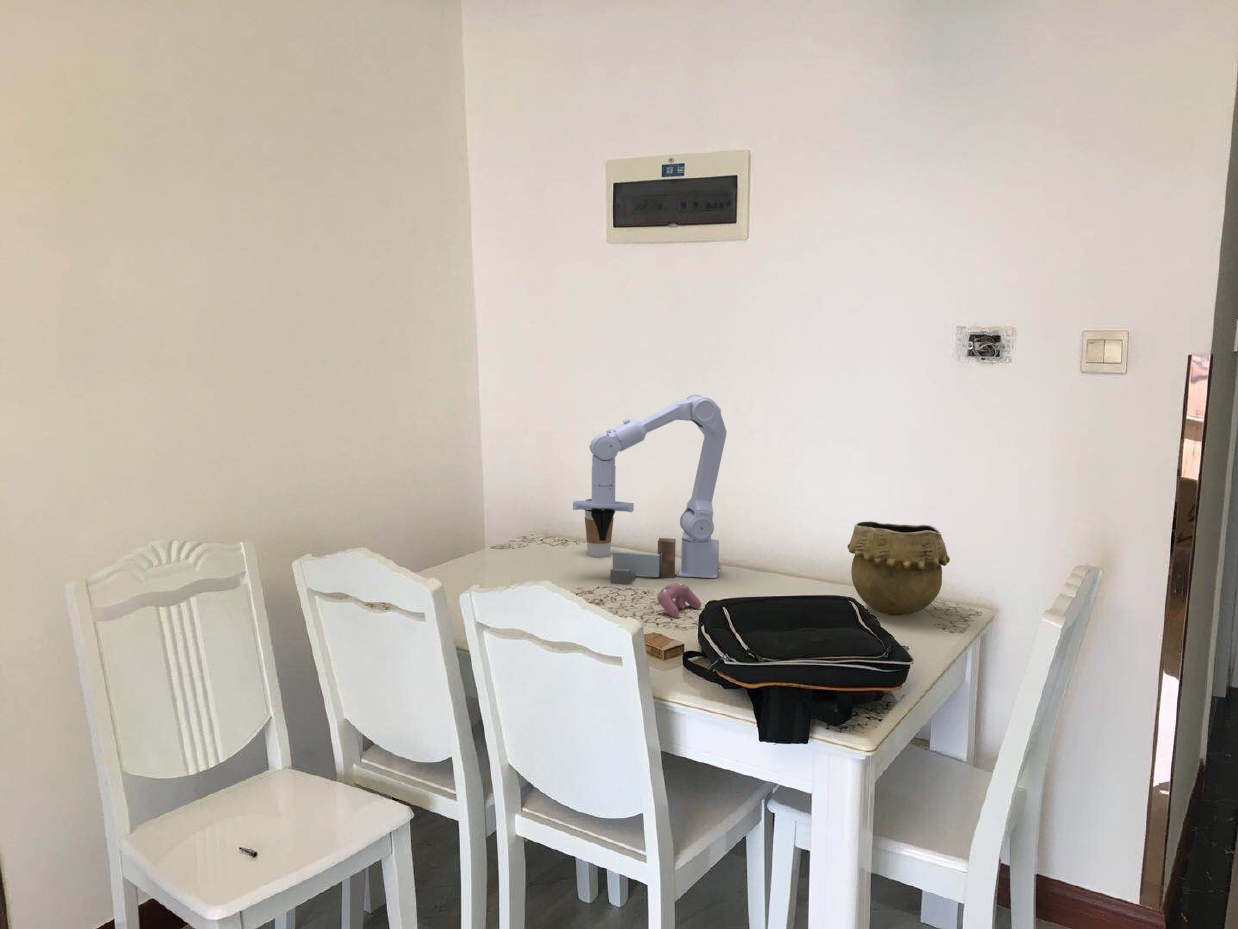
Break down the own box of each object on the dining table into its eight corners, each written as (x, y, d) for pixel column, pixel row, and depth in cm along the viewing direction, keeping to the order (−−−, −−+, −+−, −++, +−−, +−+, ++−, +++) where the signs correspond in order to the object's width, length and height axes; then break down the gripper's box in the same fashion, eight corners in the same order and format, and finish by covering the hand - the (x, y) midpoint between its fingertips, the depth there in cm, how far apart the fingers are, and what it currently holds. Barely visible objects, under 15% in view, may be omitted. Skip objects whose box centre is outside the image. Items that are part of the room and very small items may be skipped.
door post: (674, 574, 238) (675, 538, 237) (672, 579, 234) (673, 543, 232) (658, 573, 239) (659, 538, 238) (656, 578, 234) (657, 542, 233)
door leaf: (660, 574, 236) (661, 553, 235) (658, 576, 234) (659, 555, 233) (614, 570, 239) (615, 550, 238) (612, 573, 236) (612, 552, 236)
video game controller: (688, 612, 213) (677, 582, 214) (704, 606, 210) (692, 576, 211) (662, 622, 205) (650, 591, 206) (678, 617, 202) (666, 585, 203)
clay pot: (851, 595, 222) (855, 509, 219) (948, 605, 214) (954, 517, 211) (837, 620, 203) (841, 527, 200) (943, 633, 195) (949, 537, 192)
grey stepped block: (635, 578, 235) (635, 564, 235) (628, 586, 228) (629, 571, 228) (617, 577, 236) (618, 563, 236) (610, 584, 229) (610, 570, 229)
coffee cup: (601, 560, 252) (601, 503, 250) (576, 555, 257) (576, 499, 255) (620, 554, 259) (621, 499, 256) (596, 549, 264) (596, 495, 261)
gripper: (635, 482, 234) (634, 537, 236) (577, 480, 236) (576, 534, 238) (631, 487, 227) (630, 544, 229) (571, 485, 229) (571, 541, 231)
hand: (603, 539), depth 233 cm, fingers closed
